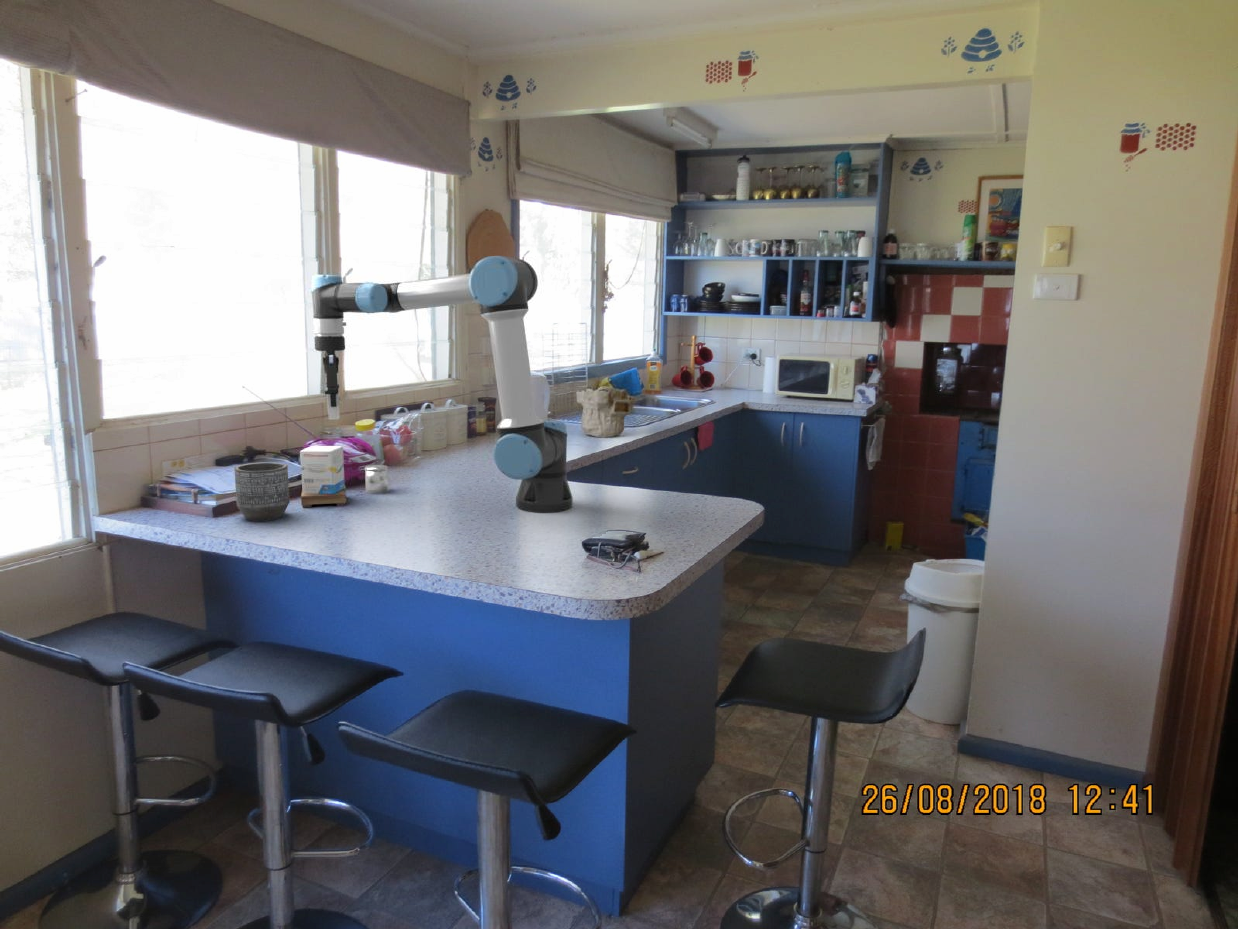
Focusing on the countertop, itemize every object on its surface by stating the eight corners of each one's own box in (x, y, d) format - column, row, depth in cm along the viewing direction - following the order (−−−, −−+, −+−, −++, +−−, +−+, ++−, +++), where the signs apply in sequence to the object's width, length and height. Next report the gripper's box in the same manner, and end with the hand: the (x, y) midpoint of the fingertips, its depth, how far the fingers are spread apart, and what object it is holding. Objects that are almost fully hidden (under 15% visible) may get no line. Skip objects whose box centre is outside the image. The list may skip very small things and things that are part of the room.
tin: (388, 493, 242) (388, 468, 240) (365, 494, 240) (365, 469, 239) (387, 488, 248) (386, 464, 246) (365, 489, 246) (364, 465, 244)
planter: (300, 515, 216) (298, 465, 213) (259, 525, 206) (255, 473, 203) (269, 508, 222) (266, 460, 219) (226, 518, 212) (223, 467, 209)
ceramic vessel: (601, 408, 373) (626, 365, 358) (628, 449, 362) (655, 406, 347) (559, 410, 359) (583, 366, 344) (586, 453, 347) (612, 409, 332)
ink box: (345, 488, 234) (344, 445, 231) (333, 495, 225) (331, 450, 223) (314, 487, 234) (312, 444, 232) (301, 493, 226) (299, 449, 224)
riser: (346, 505, 227) (345, 494, 226) (301, 507, 223) (301, 496, 223) (345, 496, 237) (345, 485, 236) (303, 498, 234) (302, 487, 233)
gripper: (346, 337, 214) (350, 421, 218) (343, 333, 238) (346, 409, 241) (314, 337, 212) (318, 422, 216) (314, 333, 235) (318, 410, 239)
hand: (333, 416), depth 229 cm, fingers open, 13 cm apart
